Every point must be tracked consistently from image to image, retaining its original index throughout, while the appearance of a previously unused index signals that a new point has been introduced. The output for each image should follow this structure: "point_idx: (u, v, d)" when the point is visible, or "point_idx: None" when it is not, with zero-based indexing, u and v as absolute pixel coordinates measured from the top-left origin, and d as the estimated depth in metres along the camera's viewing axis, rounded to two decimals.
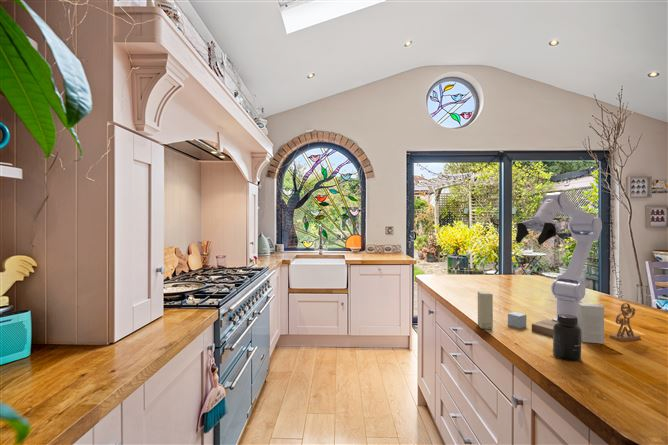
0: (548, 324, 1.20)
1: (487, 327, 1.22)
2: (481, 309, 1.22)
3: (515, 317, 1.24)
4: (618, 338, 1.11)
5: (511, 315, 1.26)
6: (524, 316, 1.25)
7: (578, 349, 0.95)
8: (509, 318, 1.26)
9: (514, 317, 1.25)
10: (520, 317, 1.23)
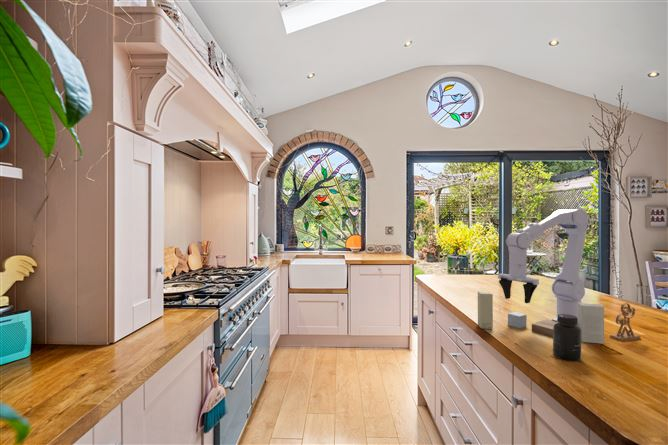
0: (548, 324, 1.20)
1: (487, 327, 1.22)
2: (481, 309, 1.22)
3: (515, 317, 1.24)
4: (618, 338, 1.11)
5: (511, 315, 1.26)
6: (524, 316, 1.25)
7: (578, 349, 0.95)
8: (509, 318, 1.26)
9: (514, 317, 1.25)
10: (520, 317, 1.23)
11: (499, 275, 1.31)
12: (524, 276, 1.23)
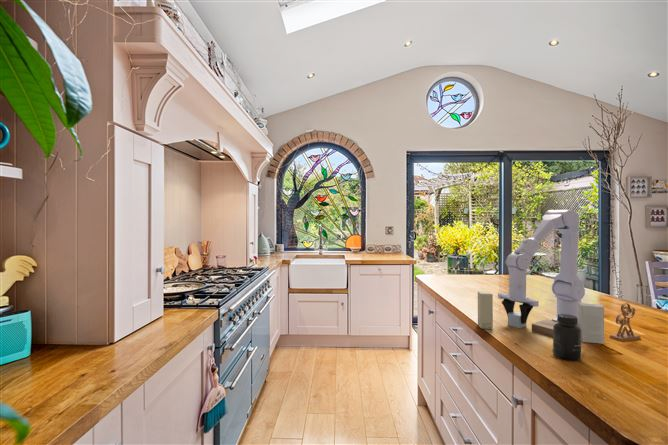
0: (548, 324, 1.20)
1: (487, 327, 1.22)
2: (481, 309, 1.22)
3: (515, 317, 1.24)
4: (618, 338, 1.11)
5: (511, 315, 1.26)
6: None
7: (578, 349, 0.95)
8: (509, 318, 1.26)
9: (514, 317, 1.25)
10: (520, 317, 1.23)
11: (499, 295, 1.31)
12: (524, 297, 1.23)
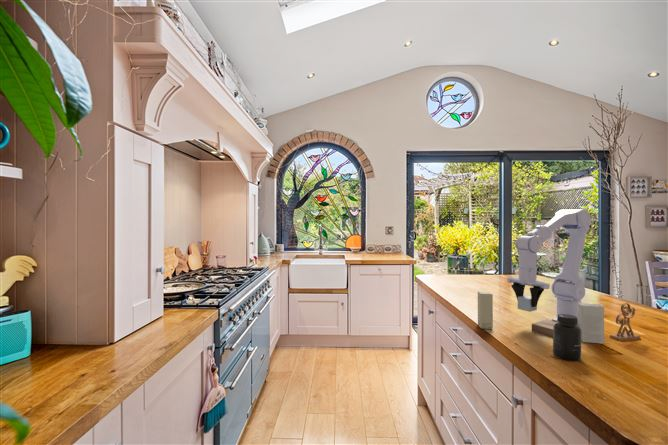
0: (548, 324, 1.20)
1: (487, 327, 1.22)
2: (481, 309, 1.22)
3: (525, 300, 1.22)
4: (618, 338, 1.11)
5: (521, 298, 1.24)
6: None
7: (578, 349, 0.95)
8: (519, 301, 1.24)
9: (524, 300, 1.23)
10: (530, 300, 1.21)
11: (508, 279, 1.29)
12: (534, 280, 1.21)
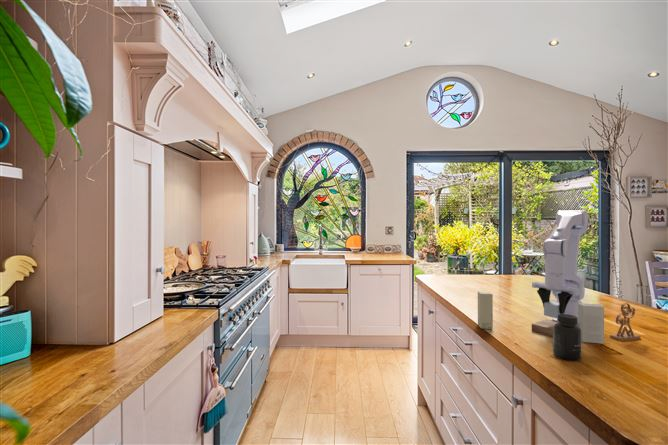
0: (548, 324, 1.20)
1: (487, 327, 1.22)
2: (481, 309, 1.22)
3: (553, 306, 1.17)
4: (618, 338, 1.11)
5: (548, 304, 1.18)
6: None
7: (578, 349, 0.95)
8: (546, 308, 1.19)
9: (551, 306, 1.17)
10: (558, 306, 1.16)
11: (533, 284, 1.24)
12: (562, 285, 1.16)
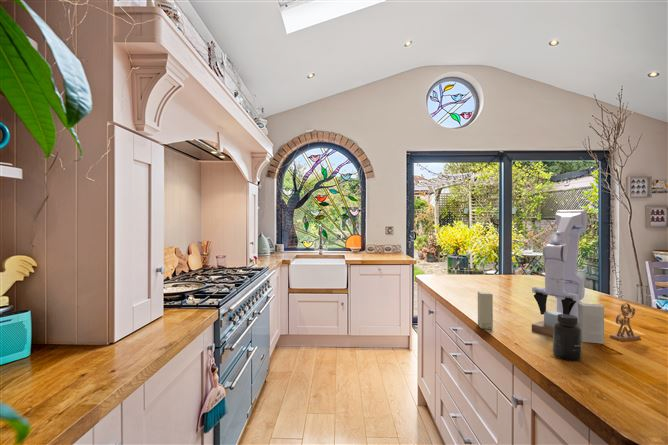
0: None
1: (487, 327, 1.22)
2: (481, 309, 1.22)
3: (553, 316, 1.17)
4: (618, 338, 1.11)
5: (548, 314, 1.18)
6: None
7: (578, 349, 0.95)
8: (546, 317, 1.19)
9: (551, 316, 1.17)
10: None
11: (533, 289, 1.24)
12: (562, 291, 1.16)
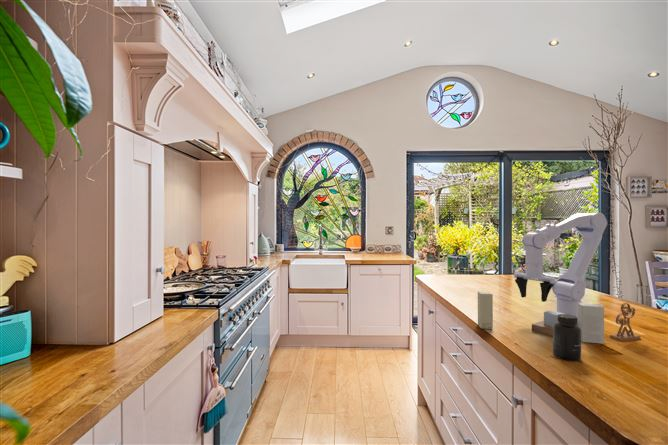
0: None
1: (487, 327, 1.22)
2: (481, 309, 1.22)
3: (552, 316, 1.17)
4: (618, 338, 1.11)
5: (548, 314, 1.18)
6: None
7: (578, 349, 0.95)
8: (545, 317, 1.19)
9: (551, 316, 1.17)
10: None
11: (515, 274, 1.34)
12: (541, 275, 1.26)
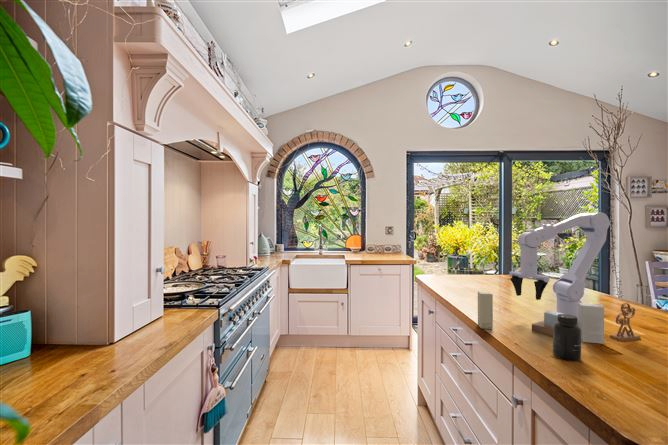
0: None
1: (487, 327, 1.22)
2: (481, 309, 1.22)
3: (552, 316, 1.17)
4: (618, 338, 1.11)
5: (548, 314, 1.18)
6: None
7: (578, 349, 0.95)
8: (546, 317, 1.19)
9: (551, 316, 1.17)
10: None
11: (510, 273, 1.37)
12: (535, 274, 1.29)
